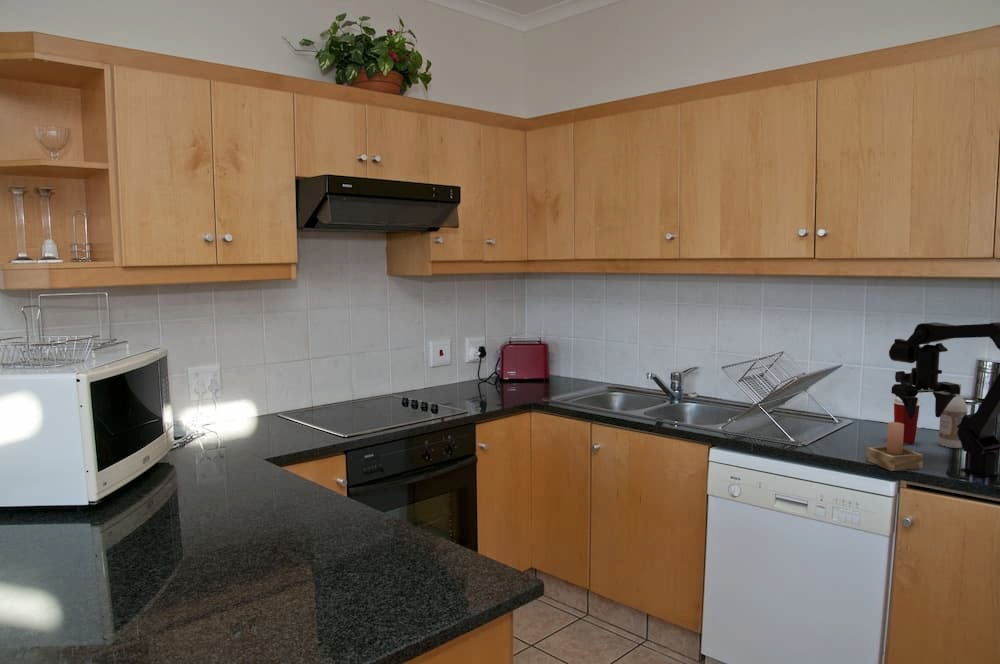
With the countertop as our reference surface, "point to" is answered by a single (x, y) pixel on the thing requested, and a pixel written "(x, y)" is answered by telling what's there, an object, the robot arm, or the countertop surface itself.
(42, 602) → the countertop surface
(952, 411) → the bath foam
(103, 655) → the countertop surface
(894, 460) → the box
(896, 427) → the peg
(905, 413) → the paper cup
